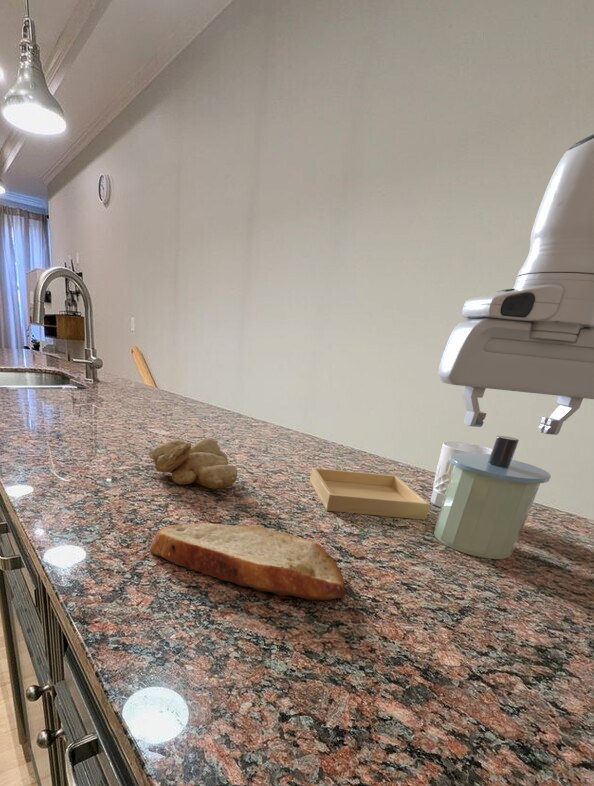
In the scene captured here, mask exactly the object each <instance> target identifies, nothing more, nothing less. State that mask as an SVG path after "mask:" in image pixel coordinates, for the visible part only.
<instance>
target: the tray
mask: <svg viewBox="0 0 594 786" xmlns="http://www.w3.org/2000/svg"><path fill="white" fill-rule="evenodd" d="M309 482H310V485H311V486H312V488H313V489H314V491H315V493H316V495H317V496H318V499H319V501H320V503H321V504H322V505H323V507H324V509H325V511H327V512H336V513H348V514H359V515H369V516H378V517H380V516H381V517H392V518H401V519H412V520H423V521H426V520H427V517H428V514H429V510H430V508H431V503H430V502H428V501H427V499H425V498H423V496H421V495H420V494H419V493H418V492H417V491H415V489H413V488H412V487H411V486H410V485H408V484H407V483H406V482H405V481H404V480H402V478H400V477H399V476H397V475H396V474H383V473H374V472H364V471H363V472H362V471H353V470H342V469H331V468H321V467H320V468H319V467H311V471H310V477H309Z"/></svg>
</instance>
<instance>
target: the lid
mask: <svg viewBox="0 0 594 786" xmlns="http://www.w3.org/2000/svg"><path fill="white" fill-rule="evenodd" d="M519 440H520V439H519V438H517V437H512V436H508V435H497V436H496V438H495V440H494V443H493V447H492V448H491V449H492V452H491V455H484V454H475V453H455V454H452V455H451V456H450V459H449V461H450V462H451V463H452V464H453V465H455V466H457V467H459V468H461V469H464V470H467V471H469V472H473V473H476V474H479V475H483V476H487V477H491V478H496V479H501V480H506V481H513V482H520V483H540V484H545V483H548V482H549V481H550V479H551V477H552V475H551V473H550V472H548V471H546V470H545V469H543V468H541V467H538V466H535V465H533V464H531V463H527V462H523V461H519V460H516V459H513V458H514V456H515V453H516V449H517V447H518V444H519V442H520V441H519Z"/></svg>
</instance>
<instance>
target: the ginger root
mask: <svg viewBox="0 0 594 786" xmlns="http://www.w3.org/2000/svg"><path fill="white" fill-rule="evenodd" d="M148 456H149V458H150V460H152V461H153V462H154V468H155V470H156V472H159V473H165V474H166V473H167V474H171V479H172V481H173V482H174V483H176V484H177V485H182V486H183V485H190V484H193V482H195V483H196V484H198V485H202V486H204V487H206V488H210V489H213V490H215V489H222V488H226V487H230V486H232V485H233V484H234V483H235V482H236V481H237V477H238V469H237V467H236V465H232V464H229V463H228V460H229V458H228V457H227V455H226V453H225V452H224V451H221V448H220V446H219V444H218V441H217V440H216V439H214V438H204V439H199V440H198V441H197V442H196V443H195V444H193V445H192V442H191V443H190V442H188V443H187V442H185V441H183V440H181V439H175V440H174V439H173V440H170V441H168V442H165V443H163V444H161V445H158V446H156V447H155V448H154V449H152V450H150V451H149V452H148Z"/></svg>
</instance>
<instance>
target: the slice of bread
mask: <svg viewBox="0 0 594 786" xmlns="http://www.w3.org/2000/svg"><path fill="white" fill-rule="evenodd" d="M149 552H150V553H152V554H153V555H155V556H157V557H162V558H163V559H165V560H166V561H169V562H172V563H173V564H174V565H175V566H181V567H184V568H186V569H187V570H189V571H195V572H199V573H201V574H203V575H205V576H210V577H213V578H216V579H218V580H221V581H224V582H227V583H228V582H229V583H234V584H236V585H238V586H240V587H247V588H248V587H249V588H252V589H253V590H256V591H258V592H269V593H272V594H275V595H276V596H280V597H285V596H286V597H287V596H293V597H296V598H298V599H299V598H300V599H304V600H308V601H331V600H335V599H344V598H345V597H346V595H347V590H346V584H345V581H344V577H343V574H342V571H341V570H340V567H339V566H338V564H337V563H336V561H335V560H334V558H333V557H332V556H331V555H330V554H329V553H328V552H327V551H326V549H325V548H323V546H321V545H320V544H319V543H318V542H315V541H312V540H309V539H306V538H303V537H299V536H296V535H294V534H290V533H289V532H286V531H279V530H275V529H266V528H264V527H261V526H260V527H259V526H254V525H253V526H252V525H233V524H222V523H211V522H210V523H207V522H202V523H201V522H200V523H199V522H198V523H181V524H173V525H170V526H165V527H163V528H161V529H159V530H158V531H157V532H156V533H155V535H154V537H153V538H152V540H151V543H150V545H149Z"/></svg>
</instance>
